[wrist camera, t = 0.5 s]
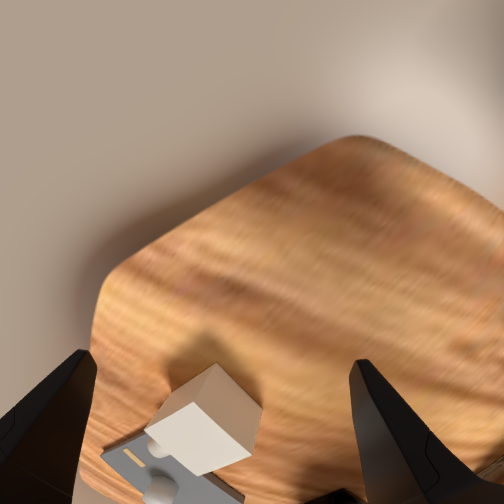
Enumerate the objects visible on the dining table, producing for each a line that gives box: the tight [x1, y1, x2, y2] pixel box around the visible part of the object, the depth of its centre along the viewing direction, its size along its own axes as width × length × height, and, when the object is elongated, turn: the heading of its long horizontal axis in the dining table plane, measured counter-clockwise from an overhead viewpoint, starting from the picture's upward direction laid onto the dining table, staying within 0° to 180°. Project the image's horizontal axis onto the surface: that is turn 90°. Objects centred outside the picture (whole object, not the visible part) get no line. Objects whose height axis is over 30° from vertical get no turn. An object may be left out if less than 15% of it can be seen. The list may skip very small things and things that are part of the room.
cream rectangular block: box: [144, 362, 263, 476], centre depth 22 cm, size 6×10×6 cm, turn 131°
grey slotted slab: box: [100, 431, 245, 504], centre depth 25 cm, size 14×12×5 cm
